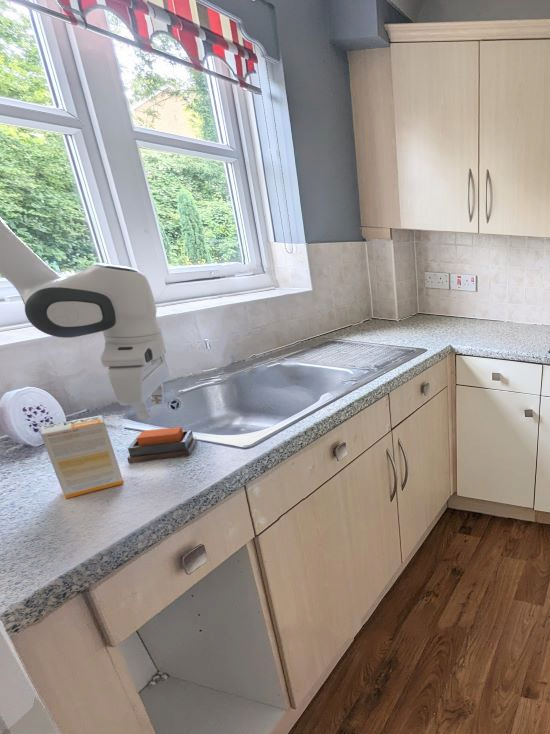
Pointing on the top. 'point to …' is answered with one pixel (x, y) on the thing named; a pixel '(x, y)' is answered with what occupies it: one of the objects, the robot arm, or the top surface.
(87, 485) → the supplement box
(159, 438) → the block
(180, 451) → the dark grey tray
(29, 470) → the top surface
